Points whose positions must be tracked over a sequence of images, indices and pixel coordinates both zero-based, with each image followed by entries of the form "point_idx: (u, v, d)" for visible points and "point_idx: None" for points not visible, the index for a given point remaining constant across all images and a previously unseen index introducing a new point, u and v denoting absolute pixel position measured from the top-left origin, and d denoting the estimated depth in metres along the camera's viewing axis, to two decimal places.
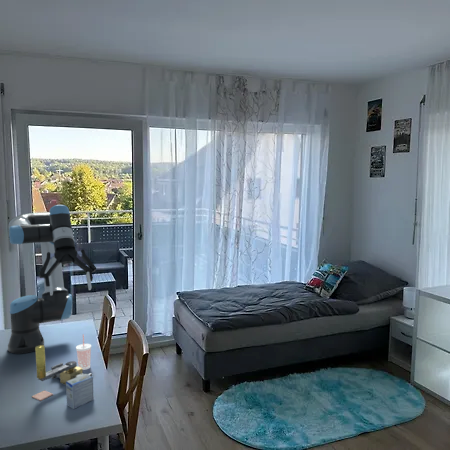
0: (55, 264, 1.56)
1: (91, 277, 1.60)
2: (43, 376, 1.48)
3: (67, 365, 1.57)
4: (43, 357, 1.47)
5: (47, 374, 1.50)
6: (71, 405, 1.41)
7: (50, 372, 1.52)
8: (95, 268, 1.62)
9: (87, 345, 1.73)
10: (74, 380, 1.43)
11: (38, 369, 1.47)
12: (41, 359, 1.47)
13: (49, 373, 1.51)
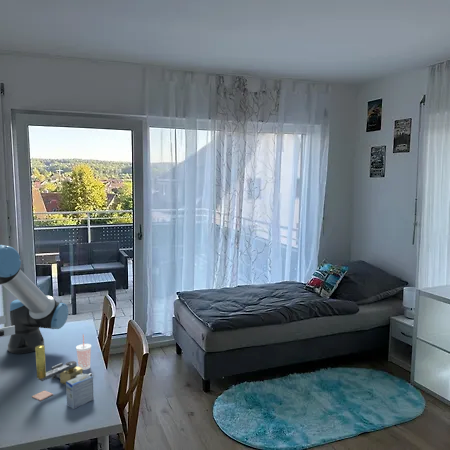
0: None
1: None
2: (43, 376, 1.48)
3: (67, 365, 1.57)
4: (43, 357, 1.47)
5: (47, 374, 1.50)
6: (71, 405, 1.41)
7: (50, 372, 1.52)
8: None
9: (87, 345, 1.73)
10: (74, 380, 1.43)
11: (38, 369, 1.47)
12: (41, 359, 1.47)
13: (49, 373, 1.51)
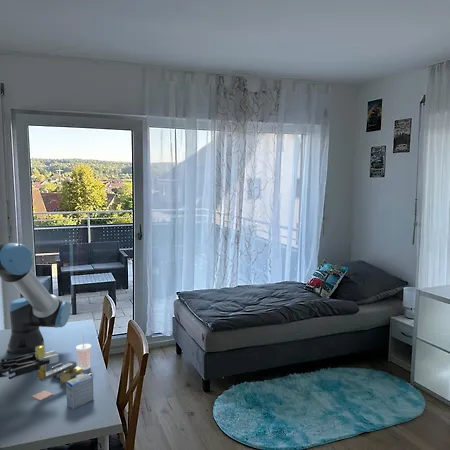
0: None
1: None
2: (43, 376, 1.48)
3: (67, 365, 1.57)
4: None
5: (47, 374, 1.50)
6: (71, 405, 1.41)
7: (50, 372, 1.52)
8: None
9: (87, 345, 1.73)
10: (74, 380, 1.43)
11: None
12: None
13: (49, 373, 1.51)
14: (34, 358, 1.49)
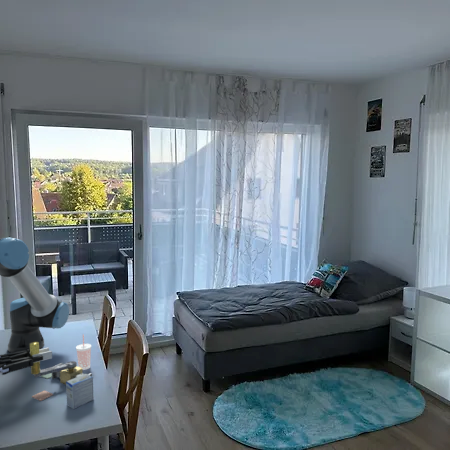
0: None
1: None
2: (36, 372, 1.50)
3: (66, 365, 1.58)
4: None
5: (42, 371, 1.53)
6: (71, 405, 1.41)
7: (46, 369, 1.54)
8: (31, 365, 1.46)
9: (87, 345, 1.73)
10: (74, 380, 1.43)
11: None
12: None
13: (44, 370, 1.53)
14: (28, 355, 1.52)
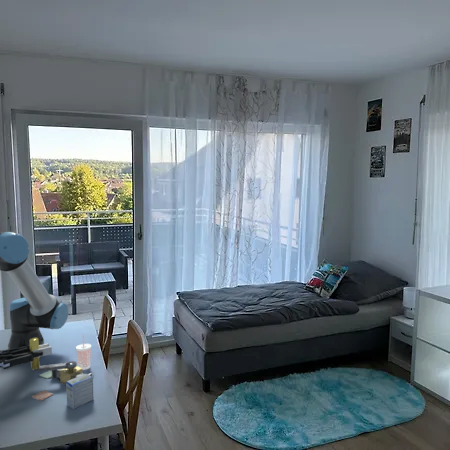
0: None
1: None
2: (34, 367, 1.54)
3: (65, 364, 1.58)
4: None
5: (41, 367, 1.56)
6: (71, 405, 1.41)
7: (46, 366, 1.57)
8: (32, 360, 1.50)
9: (87, 345, 1.73)
10: (74, 380, 1.43)
11: None
12: (32, 351, 1.54)
13: (44, 366, 1.56)
14: (28, 350, 1.56)
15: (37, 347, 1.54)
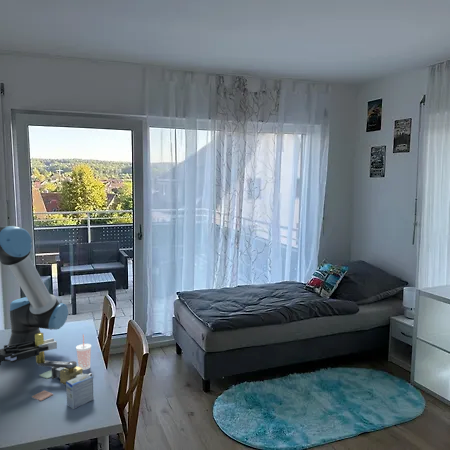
0: None
1: None
2: (37, 362, 1.59)
3: (66, 363, 1.59)
4: (37, 344, 1.59)
5: (45, 362, 1.60)
6: (71, 405, 1.41)
7: (49, 362, 1.60)
8: (37, 354, 1.55)
9: (87, 345, 1.73)
10: (74, 380, 1.43)
11: None
12: (36, 345, 1.59)
13: (47, 362, 1.60)
14: (34, 345, 1.61)
15: (41, 342, 1.59)
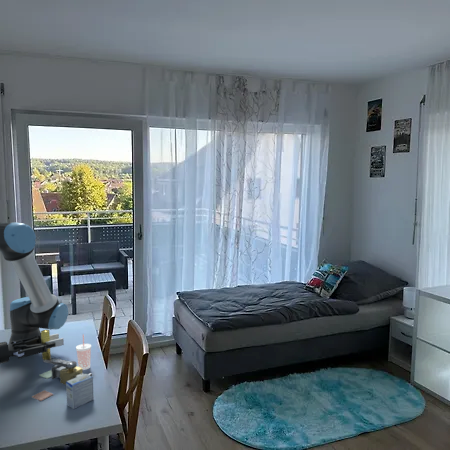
0: None
1: None
2: (43, 358, 1.63)
3: (66, 363, 1.60)
4: (43, 341, 1.62)
5: (50, 359, 1.63)
6: (71, 405, 1.41)
7: (53, 359, 1.63)
8: (45, 351, 1.58)
9: (87, 345, 1.73)
10: (74, 380, 1.43)
11: None
12: None
13: (51, 359, 1.63)
14: (40, 340, 1.66)
15: (46, 339, 1.62)
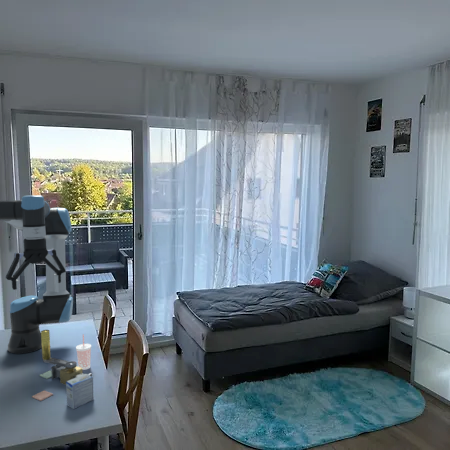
0: (24, 267, 1.50)
1: (59, 280, 1.58)
2: (43, 358, 1.63)
3: (66, 363, 1.60)
4: (43, 341, 1.62)
5: (50, 359, 1.63)
6: (71, 405, 1.41)
7: (53, 359, 1.63)
8: (64, 271, 1.59)
9: (87, 345, 1.73)
10: (74, 380, 1.43)
11: None
12: None
13: (51, 359, 1.63)
14: None
15: (46, 339, 1.62)
